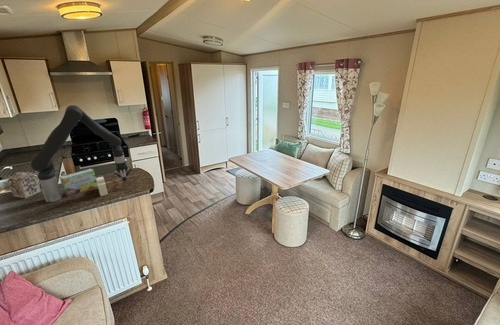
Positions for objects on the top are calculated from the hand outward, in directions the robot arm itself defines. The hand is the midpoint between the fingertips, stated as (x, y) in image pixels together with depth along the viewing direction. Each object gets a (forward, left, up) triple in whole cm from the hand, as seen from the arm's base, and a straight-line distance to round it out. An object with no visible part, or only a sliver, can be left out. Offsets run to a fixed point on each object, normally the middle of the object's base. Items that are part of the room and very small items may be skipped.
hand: (124, 180), depth 192 cm
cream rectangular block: (-16, -1, -4) cm, 17 cm away
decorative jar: (-64, +27, -4) cm, 69 cm away
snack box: (-30, +10, -4) cm, 32 cm away
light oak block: (-8, -1, -4) cm, 9 cm away
